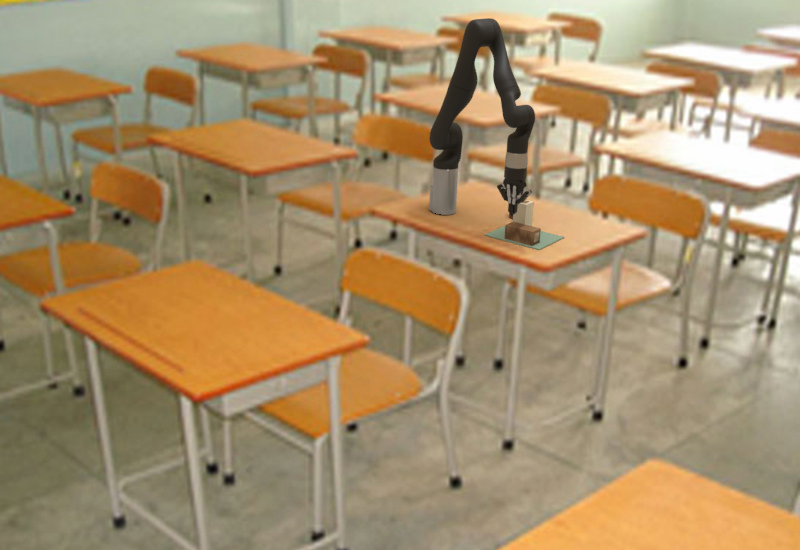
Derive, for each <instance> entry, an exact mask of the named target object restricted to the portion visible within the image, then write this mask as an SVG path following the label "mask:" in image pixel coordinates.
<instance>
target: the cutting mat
mask: <svg viewBox="0 0 800 550" xmlns="http://www.w3.org/2000/svg"><path fill="white" fill-rule="evenodd" d="M484 236H485V237H489V238H492V239H496V240H499V241H502V242H503V241H504V242H507V243H509V244H510V243H511V244H515V245H519V246H522V247H526V248H529V249H533V250H536V251H541V250H543V249H545V248H547V247H549V246H552V245H553V244H554V243H555V244H556V242H557V243H558V242H559V241H561V240H563V239H565V236H562V235H558V234H554V233H551V232H547V231H543V230H541V232H540V242H539V243H537V244H535V245H533V246H530V245H526V244H523V243H519V242H515V241H511V240H508V239H505V225H504V226H501V227H497V228H496V229H493V230H492V231H490V232H487V233H485V234H484Z"/></svg>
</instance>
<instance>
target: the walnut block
mask: <svg viewBox="0 0 800 550" xmlns="http://www.w3.org/2000/svg"><path fill="white" fill-rule="evenodd" d="M504 226H505V239H508V240H511V241H515V242H519V243H523V244H526V245H530V246H533V245H535V244H537V243H539V242H540V232H541V231H542V229H541V228H540V227H537V226H533V225H532V226H529V225H525V224H521V223H517V222H513V221H511V222H509V223H506V224H505V225H504Z"/></svg>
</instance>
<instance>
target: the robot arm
mask: <svg viewBox="0 0 800 550" xmlns="http://www.w3.org/2000/svg"><path fill="white" fill-rule="evenodd" d="M485 47H486V48H487V47H488V49H489V50H490V52H491V54H492V59H493V72H492V77H493V83H494V87H495V88H496V89H495V90H496V92H497V93H498V96H499V98H500V104H501V105H500V106H501V111H502V117H503V120H504V123H505V124H506V125H507V126H508V127H510V128H512V129H515V130H514V131H513V132H512V133H510V134H509V135H508V136H507V141H506V153H505V158H504V169H503V170H504V173H503V177H504V179H503V180H502V183H499V184H497V186H496V187H497V190H498V191H499V193H500V195H501V197H502V200H504V201H505V202H507V203H508V205H507V206H508V207H507V212H508V215H509V214H512V215H514V214H516V213H517V208H518V204H520V203H522V202H523V201H524V200H525V199H526V198H528V197H529V196H530V195H531V194H532V193H533V192H532V191H533V190H531V189H528V187H527V182H526V180H527V174H528V172H527V171H528V163H529V158H528V157H529V156H528V155H529V154H528V151H529V140H530V137H531V134H532V133H533V128H534V126H535V122H536V111H535V110H534V108H533V106H532V105H529V104H521V105H517V102H516V101H517V100H519V99H520V98H521V96H522V93H521V92H522V91H521V89H520V87H519V84H518V82H517V80H516V77H515V75H514V72H513V70H512V67H511V63H510V60H509V56H508V50H507V47H506V43H505V40H504V35H503V31H502V29H501V26H500V24H499V22H498V21H497V20H496V19H494V18H491V17H490V18H488V17H486V18H475V19H472V20H470V21H469V22H468V23H467V25H466V27H465V29H464V33H463V36H462V41H461V45H460V50H459V54H458V57H457V59H456V64H455V66H454V67H455V68H454V70H453V73H452V76H451V77H450V81H449V83H448V87H447V90H446V94H445V95H444V99H443V102H442V103H441V106H440V109H439V111H438V114H437V116H436V118H435V120H434V122H433V124H432V127H431V129H430V132H429V143H430V145H431V147H432V148H433V149H434V150H438V151H442V152H441V153H440V154H438V155H437V156H435V158H434V159H433V160H432V161H433V162H432V163H433V164H432V184H431V185H430V187H429V201H428V202H429V204H428V205H429V207H428V210H430V212H431V213H432V214H435V213H436V214H435V215H439V214H441V216H449V215H455V214H456V213H457V203H458V202H457V199H458V182H459V181H458V180H459V163H460V161H461V158H462V149H463V137H464V136H463V135H464V134H463V130H462V127H461V125H459V124H458V123H457V122H454V121H455V120H456V118H457V117H458V116H459V115H460V113H461V112H462V111H463V110H464V109H465V108H466V107H467V106H468V105H469V104H470V102H471V101H472V99H473V96H474V94H475V91H476V88H477V87H478V74H477V73H478V72H477V69H476V65H475V62H476V59H477V56H478V52H479V50H480V49H481V48H485ZM523 190H524V191H523ZM522 191H523V195H522V196H521V197H520V195H521V192H522ZM519 197H520V198H519Z"/></svg>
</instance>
